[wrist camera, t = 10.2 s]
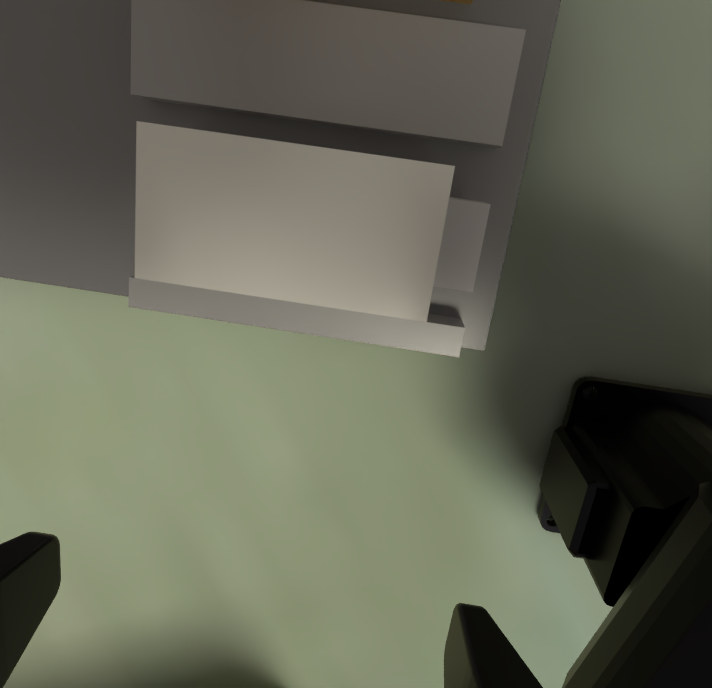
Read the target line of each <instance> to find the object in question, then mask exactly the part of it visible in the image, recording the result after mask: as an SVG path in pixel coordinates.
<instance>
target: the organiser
mask: <svg viewBox="0 0 712 688" xmlns="http://www.w3.org/2000/svg"><path fill="white" fill-rule="evenodd" d="M560 2H561V0H473V1H472V4H463V3H456V2H448V1H440V0H0V277H4V278H10V279H17V280H24V281H30V282H37V283H43V284H50V285H56V286H63V287H70V288H76V289H83V290H89V291H96V292H102V293H109V294H115V295H122V296H129V307H133V308H140V309H147V310H153V311H160V312H166V313H173V314H179V315H186V316H192V317H199V318H205V319H212V320H218V321H225V322H232V323H238V324H245V325H251V326H258V327H264V328H271V329H277V330H284V331H290V332H297V333H303V334H310V335H316V336H323V337H330V338H336V339H343V340H349V341H356V342H362V343H369V344H375V345H382V346H388V347H395V348H401V349H408V350H415V351H421V352H428V353H434V354H441V355H447V356H454V357H459V356H460V351H461V347H463V348H470V349H477V350H483V351H485V346H486V342H487V337H488V332H489V328H490V323H491V319H492V314H493V309H494V305H495V300H496V296H497V291H498V287H499V282H500V277H501V273H502V268H503V264H504V259H505V254H506V250H507V245H508V241H509V236H510V232H511V227H512V222H513V218H514V213H515V209H516V204H517V199H518V195H519V190H520V186H521V181H522V177H523V172H524V167H525V163H526V158H527V154H528V149H529V144H530V140H531V135H532V131H533V126H534V121H535V117H536V112H537V108H538V103H539V99H540V94H541V89H542V85H543V80H544V76H545V71H546V66H547V62H548V57H549V53H550V48H551V44H552V39H553V34H554V30H555V25H556V21H557V16H558V11H559V7H560ZM137 121H140V122H147V123H154V124H161V125H168V126H175V127H182V128H189V129H197V130H204V131H211V132H218V133H225V134H232V135H239V136H246V137H253V138H260V139H267V140H274V141H281V142H289V143H296V144H303V145H310V146H317V147H324V148H331V149H338V150H345V151H352V152H359V153H366V154H373V155H380V156H388V157H395V158H402V159H409V160H416V161H423V162H430V163H437V164H444V165H451V166H455V169H454V174H453V180H452V185H451V191H450V197H453V198H460V199H467V200H474V201H481V202H485V203H488V204H491V205H490V210H489V215H488V220H487V225H486V230H485V234H484V239H483V244H482V249H481V254H480V259H479V264H478V269H477V274H476V278H475V283H474V288H473V292H468V291H461V290H455V289H448V288H441V287H434V286H433V290H432V296H431V301H430V307H429V312H428V318H427V322H421V321H415V320H408V319H402V318H395V317H388V316H382V315H375V314H369V313H362V312H355V311H349V310H342V309H336V308H329V307H322V306H316V305H309V304H303V303H296V302H289V301H283V300H276V299H270V298H263V297H256V296H250V295H243V294H237V293H230V292H223V291H217V290H210V289H204V288H197V287H190V286H184V285H177V284H170V283H164V282H157V281H151V280H144V279H137V278H135V204H136V124H137Z"/></svg>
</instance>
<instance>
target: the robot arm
mask: <svg viewBox="0 0 712 688" xmlns="http://www.w3.org/2000/svg"><path fill="white" fill-rule="evenodd" d="M587 387H594V390H593V392H592V393H591V394H589V395H583V391H584V389H585V388H587ZM540 489H541V491H542V493H543V498H542V501H541V505H540V508H539V512H538V518H539V521H540V523H541V525H542V527H543V528H544V529H545V530H547V531H550V532H556V533H561V536H562V538H563V540H564V542H565V545H566V547H567V549H568V550H569V552H570V553H571V554H572V555H573V557H577V558H583V559H584V561H585V563H586V565H587V567H588V569H589V571H590V573H591V575H592V578H593V580H594V582H595V584H596V586H597V588H598V590H599V592H600V594H601V596H602V598H603V601H604V602H605V603H606V604H607V605H609V606H612V607H613V608H612V610H611V611H610V613H609V614H608V616H607V617H606V619H605V620H604V621H603V623H602V624H601V626H600V627H599V629H598V630H597V631H596V633H595V634H594V636H593V637H592V639H591V640H590V641H589V643H588V644H587V646H586V647H585V649H584V650H583V651H582V653H581V654H580V656H579V657H578V659H577V660H576V662H575V663H574V664H573V666H572V667H571V669H570V670H569V672H568V673H567V676H566V678H565V681H564V684H563V687H562V688H712V395H707V394H701V393H694V392H688V391H681V390H674V389H668V388H661V387H655V386H648V385H642V384H635V383H629V382H622V381H616V380H609V379H603V378H596V377H583V378H580V379H579V380H577V381H576V382H575V384H574V386H573V389H572V392H571V396H570V400H569V403H568V407H567V411H566V414H565V418H564V421H563V425H562V426H560V427H559V428H557V429H556V430H555V431H554V433H553V437H552V440H551V444H550V448H549V452H548V455H547V459H546V463H545V466H544V470H543V474H542V477H541V481H540ZM552 515H553V518H554V520H547V519H548V517H550V516H552ZM60 581H61V567H60V544H59V540H58V538H57V537H56V536H54V535H52V534H46V533H40V532H28V533H25V534H22V535H20V536H18V537H16V538H13V539H11V540H9V541H7V542H4V543H2V544H0V688H3V686H4V685H5V683H6V681H7V680H8V678H9V676H10V675H11V673H12V671H13V669H14V668H15V666H16V664H17V662H18V661H19V659H20V657H21V655H22V654H23V652H24V650H25V649H26V647H27V645H28V643H29V642H30V640H31V638H32V636H33V635H34V633H35V631H36V629H37V628H38V626H39V624H40V622H41V621H42V619H43V617H44V615H45V614H46V612H47V610H48V608H49V607H50V605H51V603H52V602H53V600H54V598H55V596H56V594H57V592H58V589H59V586H60ZM444 688H543V687H542V686H541V684H540V683H539V682H538V680H537V679H536V678H535V676H534V675H533V674H532V672H531V671H530V669H529V668H528V667H527V665H526V664H525V663H524V661H523V660H522V658H521V657H520V656H519V654H518V653H517V652H516V650H515V649H514V648H513V646H512V645H511V643H510V642H509V641H508V639H507V638H506V637H505V635H504V634H503V633H502V631H501V630H500V628H499V627H498V626H497V624H496V623H495V622H494V620H493V619H492V617H491V616H490V615H489V613H488V612H487V611H486V610H485V609H484V608H483V607H481V606H476V605H470V604H464V603H459V604H457V605H456V606H455V608H454V611H453V615H452V619H451V623H450V628H449V632H448V636H447V640H446V645H445V652H444Z"/></svg>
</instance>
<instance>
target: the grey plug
mask: <svg viewBox="0 0 712 688" xmlns="http://www.w3.org/2000/svg"><path fill="white" fill-rule="evenodd" d="M454 169H455V166H451V165H444V164H437V163H430V162H423V161H416V160H409V159H402V158H395V157H388V156H380V155H373V154H366V153H359V152H352V151H345V150H338V149H331V148H324V147H317V146H310V145H303V144H296V143H289V142H281V141H274V140H267V139H260V138H253V137H246V136H239V135H232V134H225V133H218V132H211V131H204V130H197V129H189V128H182V127H175V126H168V125H161V124H154V123H147V122H140V121H137V124H136V204H135V278H137V279H144V280H151V281H157V282H164V283H170V284H177V285H184V286H190V287H197V288H204V289H210V290H217V291H223V292H230V293H237V294H243V295H250V296H256V297H263V298H270V299H276V300H283V301H289V302H296V303H303V304H309V305H316V306H322V307H329V308H336V309H342V310H349V311H355V312H362V313H369V314H375V315H382V316H388V317H395V318H402V319H408V320H415V321H421V322H427V318H428V312H429V307H430V301H431V296H432V290H433V286H434V287H441V288H448V289H455V290H461V291H468V292H473V288H474V283H475V278H476V274H477V269H478V264H479V259H480V254H481V249H482V244H483V239H484V234H485V230H486V225H487V220H488V215H489V210H490V205H491V204H488V203H485V202H481V201H474V200H467V199H460V198H453V197H450V191H451V185H452V180H453V174H454Z"/></svg>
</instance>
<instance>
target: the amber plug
mask: <svg viewBox="0 0 712 688" xmlns="http://www.w3.org/2000/svg"><path fill="white" fill-rule="evenodd" d="M440 1H448V2H456V3H463V4H472V1H473V0H440Z"/></svg>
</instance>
